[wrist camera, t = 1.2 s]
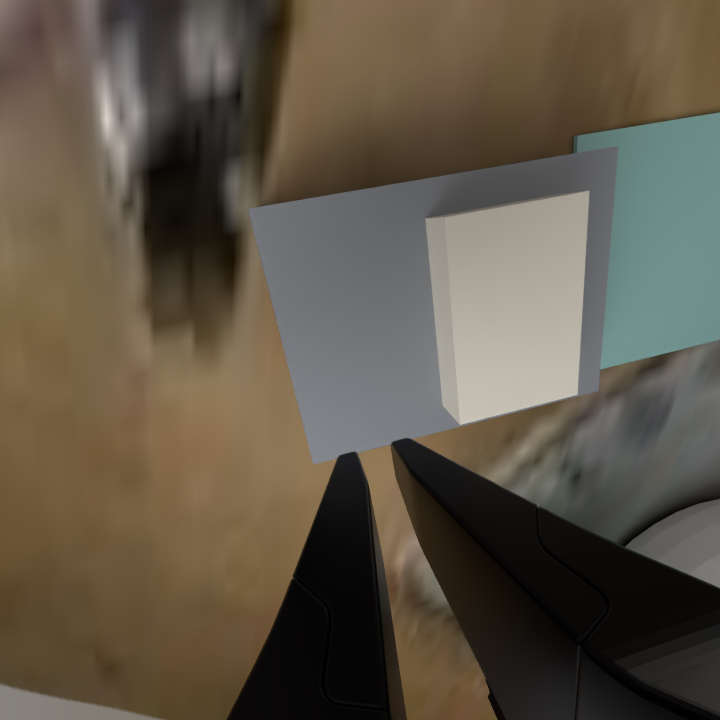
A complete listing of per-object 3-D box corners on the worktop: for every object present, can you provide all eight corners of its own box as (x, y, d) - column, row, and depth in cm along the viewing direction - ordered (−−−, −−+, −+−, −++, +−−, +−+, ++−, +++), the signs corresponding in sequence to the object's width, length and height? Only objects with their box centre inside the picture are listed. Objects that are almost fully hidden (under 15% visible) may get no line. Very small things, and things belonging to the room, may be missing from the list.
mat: (753, 329, 26) (758, 330, 26) (563, 376, 25) (566, 377, 24) (807, 98, 21) (814, 96, 21) (573, 136, 20) (577, 135, 19)
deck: (550, 365, 24) (598, 391, 20) (308, 424, 22) (313, 464, 19) (555, 160, 20) (618, 145, 16) (255, 212, 18) (247, 208, 14)
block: (549, 378, 20) (577, 394, 18) (442, 405, 19) (459, 425, 17) (555, 194, 16) (589, 190, 14) (425, 218, 16) (444, 217, 14)
